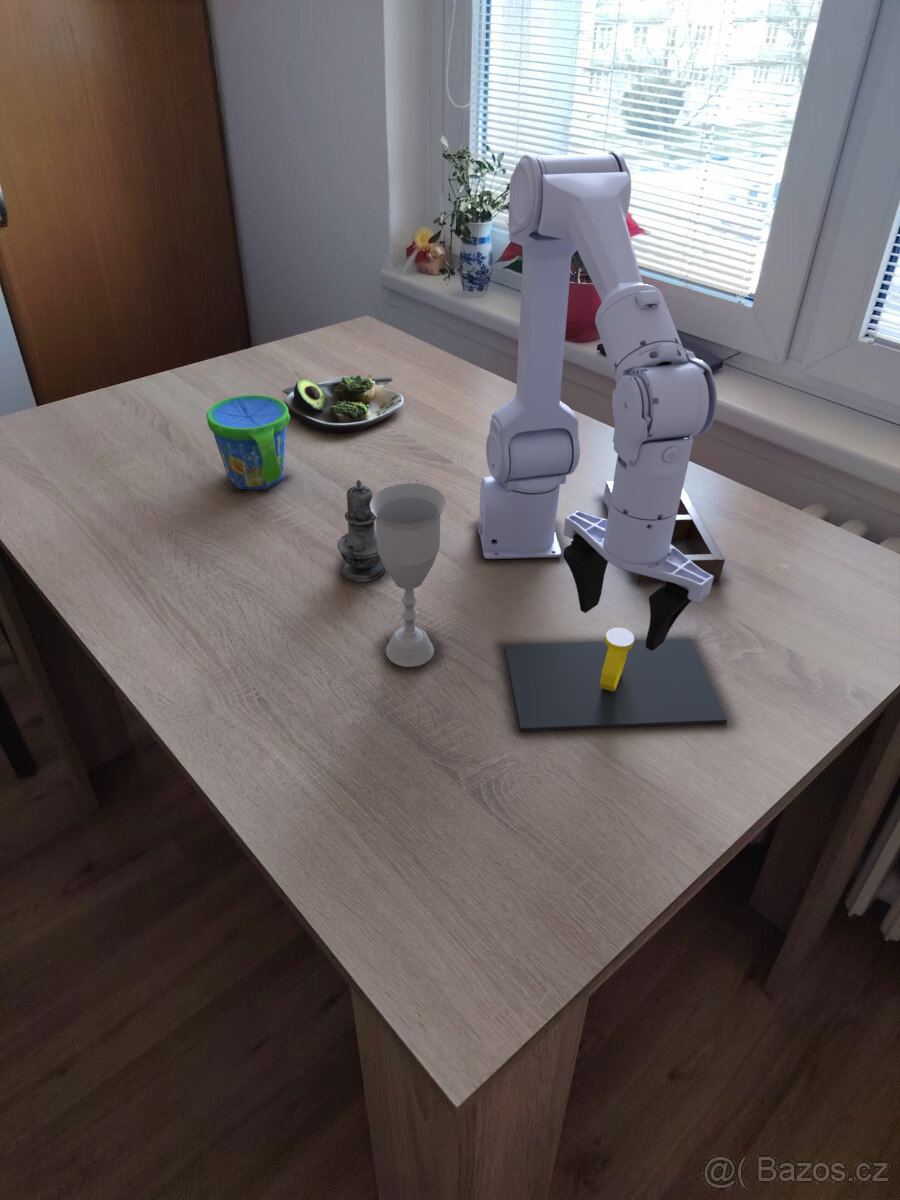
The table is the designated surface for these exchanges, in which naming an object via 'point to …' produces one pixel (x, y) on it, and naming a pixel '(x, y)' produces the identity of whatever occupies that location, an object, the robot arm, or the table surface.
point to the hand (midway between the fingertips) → (621, 625)
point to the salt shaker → (360, 538)
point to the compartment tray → (687, 537)
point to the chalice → (408, 557)
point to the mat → (642, 697)
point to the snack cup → (251, 439)
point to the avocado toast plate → (342, 403)
